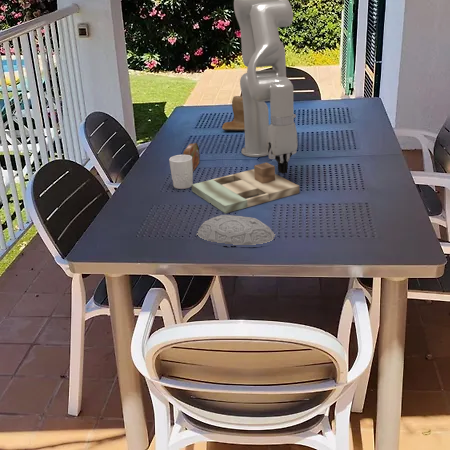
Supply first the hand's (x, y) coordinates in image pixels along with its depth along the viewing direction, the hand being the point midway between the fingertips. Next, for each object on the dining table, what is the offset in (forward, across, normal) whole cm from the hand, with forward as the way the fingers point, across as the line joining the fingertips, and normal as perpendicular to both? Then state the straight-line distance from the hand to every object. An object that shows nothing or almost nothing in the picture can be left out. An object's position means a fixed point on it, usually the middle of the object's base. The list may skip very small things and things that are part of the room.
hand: (282, 172), depth 206 cm
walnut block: (+1, +7, 0) cm, 7 cm away
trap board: (+4, +15, 0) cm, 16 cm away
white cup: (+4, +29, -19) cm, 35 cm away
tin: (+4, +18, -34) cm, 38 cm away
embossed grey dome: (+4, +35, +26) cm, 44 cm away
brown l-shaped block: (+4, -23, -66) cm, 70 cm away
